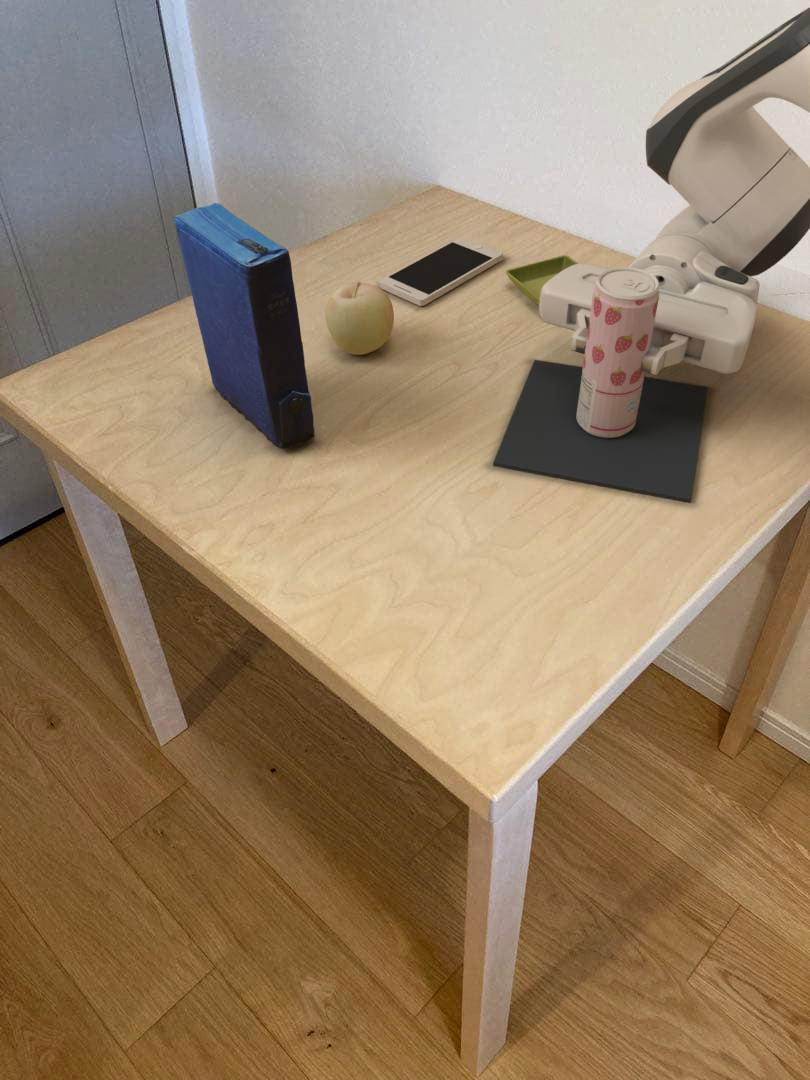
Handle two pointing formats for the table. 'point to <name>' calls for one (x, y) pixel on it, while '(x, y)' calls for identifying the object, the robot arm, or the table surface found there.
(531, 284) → the saucer
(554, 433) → the mat
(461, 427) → the table surface
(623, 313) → the beverage can
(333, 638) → the table surface
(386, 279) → the smartphone
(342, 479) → the table surface
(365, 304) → the fruit
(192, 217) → the book
